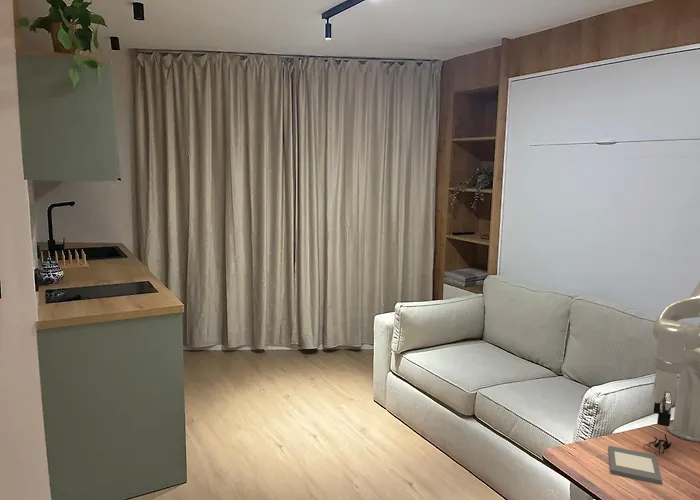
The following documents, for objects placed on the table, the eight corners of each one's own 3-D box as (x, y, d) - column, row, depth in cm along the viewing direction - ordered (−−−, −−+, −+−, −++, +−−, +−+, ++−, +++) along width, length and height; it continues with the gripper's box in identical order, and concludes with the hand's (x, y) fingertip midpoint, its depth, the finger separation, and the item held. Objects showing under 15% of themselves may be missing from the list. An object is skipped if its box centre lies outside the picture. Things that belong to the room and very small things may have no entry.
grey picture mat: (608, 449, 177) (608, 445, 177) (655, 458, 172) (655, 454, 172) (610, 473, 162) (610, 469, 162) (661, 484, 157) (662, 480, 157)
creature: (648, 459, 174) (676, 456, 172) (645, 442, 174) (674, 440, 172) (640, 447, 182) (666, 444, 180) (637, 431, 181) (664, 428, 180)
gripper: (651, 356, 182) (644, 407, 184) (658, 371, 166) (650, 427, 168) (678, 360, 179) (670, 412, 181) (687, 376, 163) (679, 432, 165)
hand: (661, 419), depth 175 cm, fingers open, 9 cm apart
